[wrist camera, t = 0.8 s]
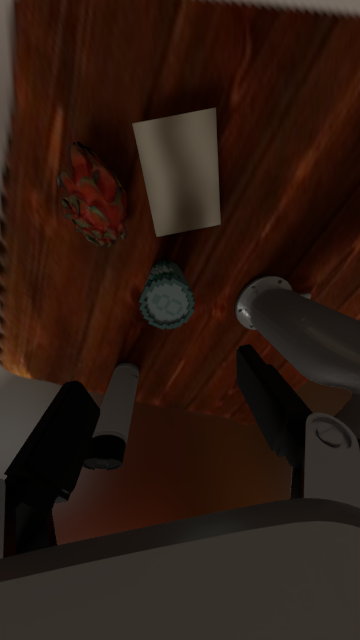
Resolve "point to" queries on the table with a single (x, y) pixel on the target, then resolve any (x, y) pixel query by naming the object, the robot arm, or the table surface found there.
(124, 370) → the travel mug
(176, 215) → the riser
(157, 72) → the table surface
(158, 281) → the can
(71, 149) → the dragon fruit
